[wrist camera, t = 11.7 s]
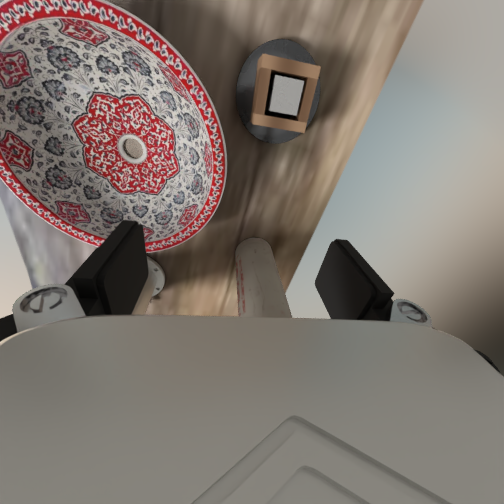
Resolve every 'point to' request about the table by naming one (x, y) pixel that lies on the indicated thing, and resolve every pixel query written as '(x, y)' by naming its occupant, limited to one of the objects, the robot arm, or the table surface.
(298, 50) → the post base
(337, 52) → the table surface
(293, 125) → the hollow wooden square
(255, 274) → the thermos bottle
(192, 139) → the ceramic bowl
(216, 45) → the table surface
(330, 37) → the table surface
